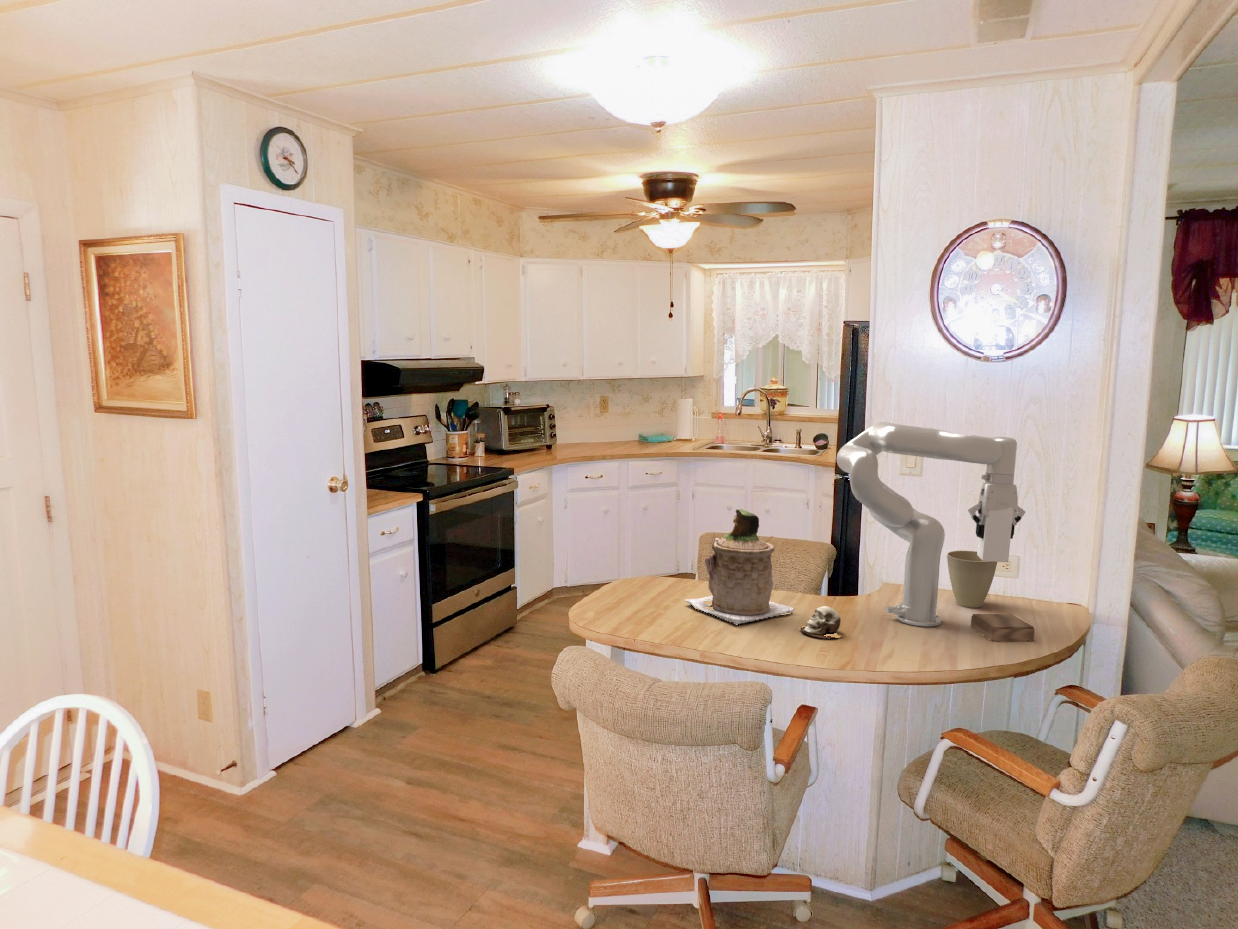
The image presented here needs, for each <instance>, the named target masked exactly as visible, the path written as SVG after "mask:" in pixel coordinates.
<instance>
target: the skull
mask: <svg viewBox="0 0 1238 929" xmlns="http://www.w3.org/2000/svg"><path fill="white" fill-rule="evenodd" d="M841 622H842V621H841V615H840V614H839V612H837V610H835V609H834V608H832V607H830V606H828V605H822V606H820V607H817V608H816V609H814V613H813V614H812V615H811V616H810V619H809V620H807V622H806V625H805V626H807V627H806V628H805V627H803V628H802V626H800V631H801V632H802V633H803V634H805V635H808V636H811V637H815V638H819V639H826V638H827V640H831V639H830V638H835V637H831V636H827V637H826V636H824V635H826V634H834V633H838V631H839V629H840V626H841Z"/></svg>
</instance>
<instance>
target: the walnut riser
mask: <svg viewBox="0 0 1238 929" xmlns="http://www.w3.org/2000/svg"><path fill="white" fill-rule="evenodd" d="M970 620H971V621H970V628H971V627H972V629H973V630H974V631H976V632H977V633H979V632H980V633H981V634H980V633H979V634H980V635H982V634H983V635H984V636H983V635H982V636H983V637H985V638H986V637H987V638H986V639H988V638H989V639H990V640H991V641H990V640H989V639H988V640H989V641H990V642H1034V640H1035V628H1034V626H1033V625H1031V624H1029V623H1027V622H1026V621H1024V620H1022V618H1019V617H1018V616H1016V615H1014V614H1012V613H973V614H972V615H971V619H970ZM992 640H993V641H992ZM1027 640H1029V641H1027Z"/></svg>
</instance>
